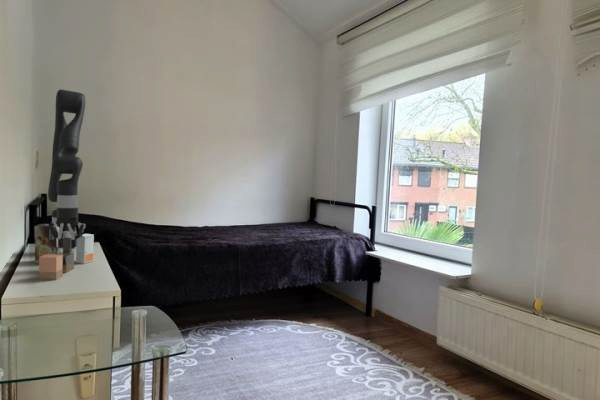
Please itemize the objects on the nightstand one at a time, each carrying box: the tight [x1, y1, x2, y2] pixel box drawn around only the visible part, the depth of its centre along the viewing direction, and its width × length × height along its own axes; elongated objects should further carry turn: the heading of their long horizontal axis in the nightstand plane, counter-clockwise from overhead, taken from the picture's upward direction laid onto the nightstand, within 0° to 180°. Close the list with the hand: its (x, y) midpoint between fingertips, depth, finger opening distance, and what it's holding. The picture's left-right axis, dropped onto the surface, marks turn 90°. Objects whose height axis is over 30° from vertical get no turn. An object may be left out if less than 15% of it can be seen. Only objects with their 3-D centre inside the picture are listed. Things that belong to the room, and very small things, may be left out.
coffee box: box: [33, 223, 63, 264], centre depth 185 cm, size 9×6×16 cm
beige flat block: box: [60, 238, 73, 263], centre depth 172 cm, size 12×3×9 cm, turn 5°
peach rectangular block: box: [38, 254, 63, 281], centre depth 162 cm, size 5×6×8 cm
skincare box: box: [75, 233, 95, 265], centre depth 188 cm, size 6×4×12 cm
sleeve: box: [57, 252, 75, 274], centre depth 173 cm, size 7×5×7 cm, turn 5°
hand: (67, 248), depth 176 cm, fingers open, 4 cm apart
